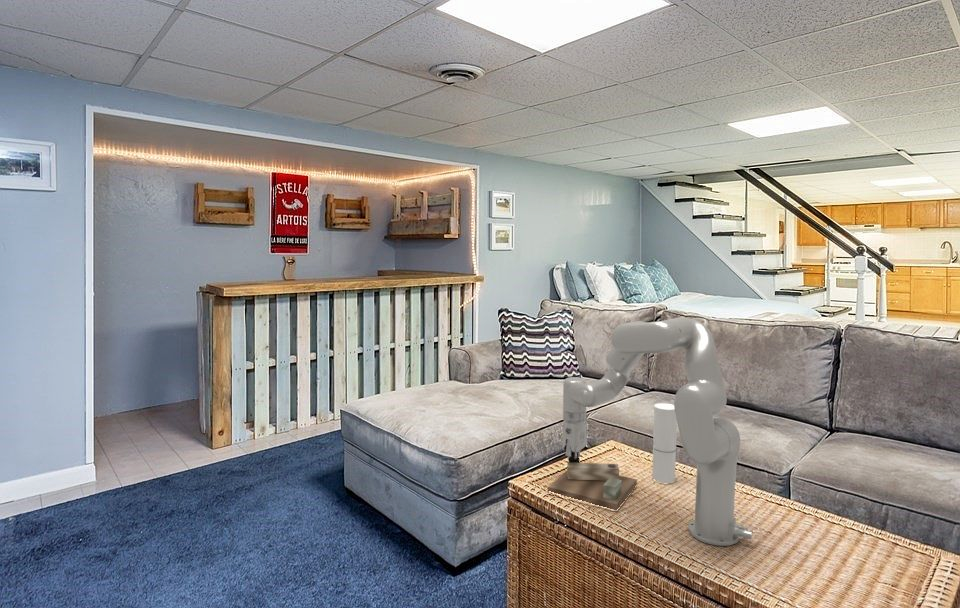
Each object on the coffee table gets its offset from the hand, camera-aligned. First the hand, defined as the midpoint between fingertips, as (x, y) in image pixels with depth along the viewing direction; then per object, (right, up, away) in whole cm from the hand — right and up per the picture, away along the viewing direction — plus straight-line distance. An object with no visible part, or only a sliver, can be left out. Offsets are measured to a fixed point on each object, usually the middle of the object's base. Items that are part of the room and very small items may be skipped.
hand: (573, 468), depth 180 cm
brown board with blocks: (+5, -5, -8) cm, 10 cm away
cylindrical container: (+30, -4, 0) cm, 30 cm away
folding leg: (+5, -1, -5) cm, 7 cm away
